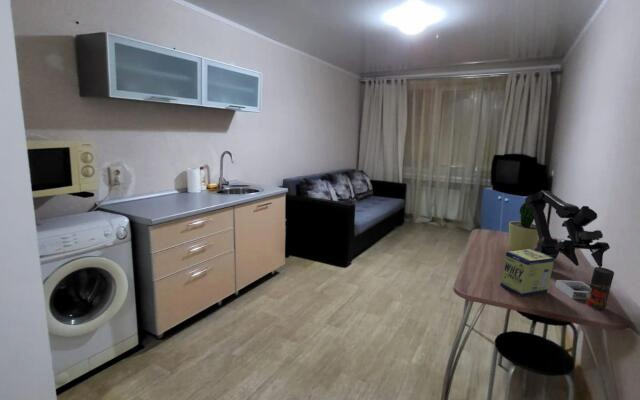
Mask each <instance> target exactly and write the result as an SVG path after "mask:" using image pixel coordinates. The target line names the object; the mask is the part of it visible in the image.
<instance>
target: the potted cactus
mask: <svg viewBox="0 0 640 400" xmlns="http://www.w3.org/2000/svg"><path fill="white" fill-rule="evenodd" d="M518 209H519V210H518V211H519V212H518V213H519V216H520V220H519V221H514V220H513V221H509V222H508V249H509V251H518V250H527V249H533V250H534V249H535V246H536V244H537V242H538V241H537V240H538V239H539V236H538V232H537V228H536V225H535V221H534V217H533V213H532V212H531V211H530V210H529V209H528V208H527V205H526V203H525V201H523V203H521V206H520V207H519V208H518Z"/></svg>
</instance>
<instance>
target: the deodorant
mask: <svg viewBox="0 0 640 400" xmlns="http://www.w3.org/2000/svg"><path fill="white" fill-rule="evenodd" d="M614 276H615V272H614V271H613V270H611V269H609V268H605V267H603V266H602V267H599V266H595V267H594V268H593V272H592V276H591V280H590V285H589V286H590V288H589V292H588V296H587V300H586V299H585V300H586V301H585V304H586V306H587V305H588V306H587V307H589V308H591V307H592V308H591V309H593V308H595V309H594V310H597V309H601V310H600V311H604V310H603V309H605V310H606V306H607V302H608V298H609V294H610V292H611V287H612V283H613V279H614Z"/></svg>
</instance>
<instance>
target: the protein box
mask: <svg viewBox="0 0 640 400" xmlns="http://www.w3.org/2000/svg"><path fill="white" fill-rule="evenodd" d="M504 258H505V259H504V264H503V267H502V268H503V269H502V273H501V278H500V279H501V280H500V287H502V288H504V289H506V290H508V291H509V292H512V293H513V294H515V295H517V296H519V297H527V296H533V295H539V294H545V293H548V291H549V285H550V281H551V276H552V271H553V269H554V262H555V260H556V259H555V258H553V257H551V256H548V255H546V254H543V253H541V252H538V251H536V250H534V248H533V249H527V250H518V251H511V250H509V251H506V252H505V257H504Z"/></svg>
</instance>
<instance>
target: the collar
mask: <svg viewBox="0 0 640 400" xmlns="http://www.w3.org/2000/svg"><path fill="white" fill-rule="evenodd" d="M555 288H557V289H558V290H559V291H561V292H562V293H564V294H565V295H567V296H568V297H569V298H571V299H573V300H574V299H575V300H587V296H588V292H589V288H590V285H588V284H586V283H585V282H584V281H581V280H579V281H578V280H568V279H567V280H565V279H556V281H555ZM575 289H577V290H575Z"/></svg>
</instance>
